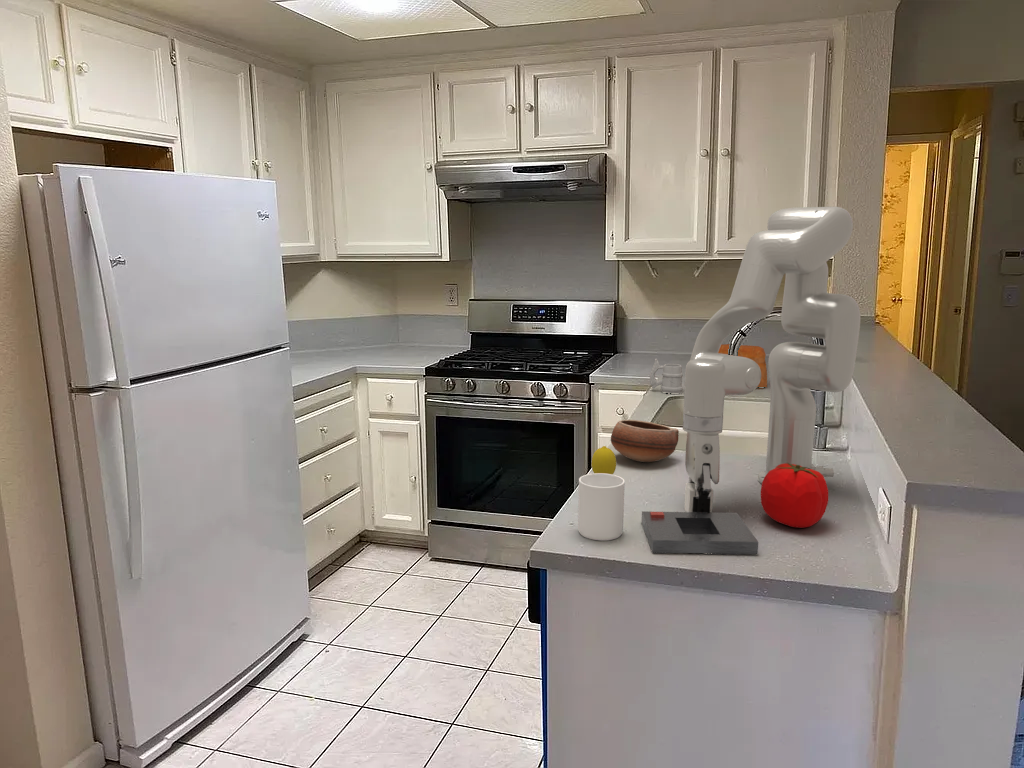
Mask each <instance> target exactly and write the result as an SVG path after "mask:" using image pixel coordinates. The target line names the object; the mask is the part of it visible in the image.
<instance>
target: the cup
mask: <svg viewBox="0 0 1024 768" xmlns="http://www.w3.org/2000/svg"><path fill="white" fill-rule="evenodd" d="M625 484H626V483H625V479H624V478H623V477H621V476H619V475H615V474H613V475H612V474H604V473H594V472H593V473H588V474H584V475H582V476H580V477H578V506H577V507H578V510H577V513H578V515H577V517H578V518H577V529H578V532H579V534H580V535H581V536H582V537H583V538H586V539H588V540H589V539H590V540H593V541H594V540H595V541H603V542H604V541H612V540H616V539H618V538H620V537H621V535H622V534H623V533H624V512H625V510H624V509H625V486H626V485H625Z"/></svg>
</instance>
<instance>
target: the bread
mask: <svg viewBox="0 0 1024 768" xmlns="http://www.w3.org/2000/svg"><path fill="white" fill-rule="evenodd" d="M729 345H730V343H729V344H728V343H727V344H723V343H722V345H721V347H720V349H719V352H718V353H721V354H728V349H729ZM766 355H767V354H766V351H765V348H763V347H761V346H759V345H758V346H757V345H743V344H742V345H741V346H740V348H739V350H738V356H740V357H746V358H749V359H751V360H753V361H755V362H756V363H757V364H758V366H759V367H760V370H761V381H760V383H759V385H758V386H757V387H766V388H768V369H767V368H768V367H767V362H766V357H767V356H766Z"/></svg>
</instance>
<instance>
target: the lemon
mask: <svg viewBox="0 0 1024 768" xmlns="http://www.w3.org/2000/svg"><path fill="white" fill-rule="evenodd" d="M590 466H591V471H592V472H593V474H594V473H604V474H612V475H614V473H615V472H616V469H617V459H616V455H615V452H614V451H613V450H612V449H611V448H609V447H607V446H606V445H603V446H601V447H599V448H597V449H596V450H595V451H594V453H593V455H592V457H591V465H590Z"/></svg>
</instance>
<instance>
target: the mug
mask: <svg viewBox="0 0 1024 768" xmlns="http://www.w3.org/2000/svg"><path fill="white" fill-rule="evenodd" d="M658 370H662V372H661V376H662V379H660V380H656V377H655V375H656V372H657V371H658ZM682 371H683V366H682V364H678V363H666V364H663V365H660V362H659V360H658V358H655V359H654V363H653V365H652V368H651V371H650V373H649V384H650V386H651V387H652V389H655V388H656V387H658V386H660V390H661V393H662V392H666V393H681V392H682V391H683V390H684V386H683V381H682V380H683V378H682V377H683V376H684V373H683V372H682ZM681 394H682V393H681Z"/></svg>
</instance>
